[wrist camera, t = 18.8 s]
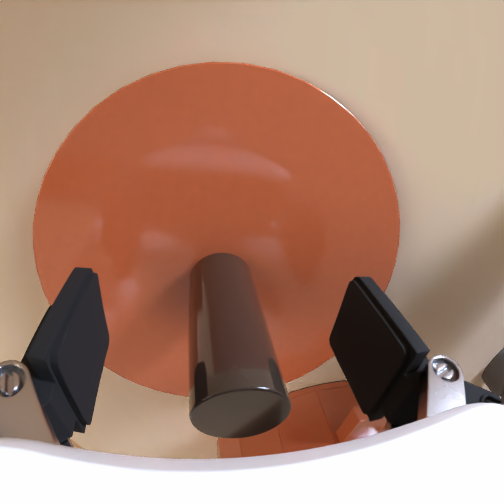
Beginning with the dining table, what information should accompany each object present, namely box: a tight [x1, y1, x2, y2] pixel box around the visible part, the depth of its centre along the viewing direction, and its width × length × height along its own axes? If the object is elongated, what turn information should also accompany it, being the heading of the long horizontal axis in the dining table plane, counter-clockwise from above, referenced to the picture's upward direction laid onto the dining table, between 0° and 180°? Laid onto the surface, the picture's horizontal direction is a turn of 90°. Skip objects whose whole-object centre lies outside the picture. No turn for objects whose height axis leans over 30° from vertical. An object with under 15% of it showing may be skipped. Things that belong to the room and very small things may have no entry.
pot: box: [217, 381, 387, 459], centre depth 19 cm, size 15×20×6 cm
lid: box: [33, 62, 400, 438], centre depth 9 cm, size 16×16×7 cm
